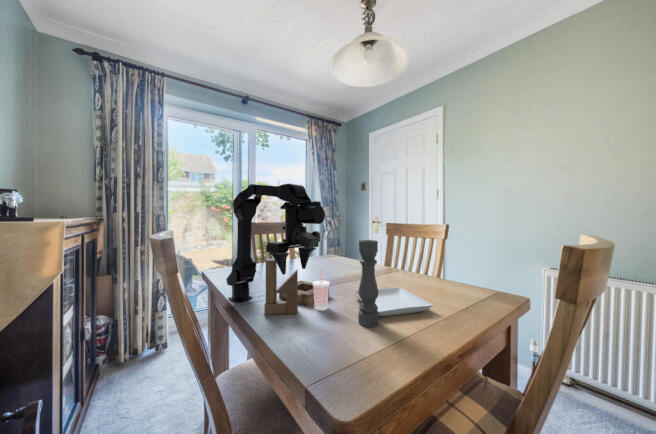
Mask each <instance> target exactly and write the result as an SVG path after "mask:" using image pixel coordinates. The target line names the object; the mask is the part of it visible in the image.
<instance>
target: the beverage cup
mask: <svg viewBox="0 0 656 434" xmlns="http://www.w3.org/2000/svg"><path fill="white" fill-rule="evenodd" d="M319 271H320V277H319V278H320V279H319V280H314V281H312V282H311V283H312V284H313V290H314V304H313V306H314V309H315V310H316V311H325V310H327V309H328V307H329V305H328V304H329V297H328V292H329V293H330V284H331V283H330V281H328V280H323V273H322V271H323V269H322V268H320V269H319Z"/></svg>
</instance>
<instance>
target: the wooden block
mask: <svg viewBox="0 0 656 434" xmlns="http://www.w3.org/2000/svg"><path fill="white" fill-rule="evenodd" d="M277 266H278V264H277V262H276V260H275V259H274V258H267V259H265V303H264V305H263V306H264V308H263V309H264V310H263V311H264V315H265V316H266V315H268V316H269V315H270V316H271V315H272V316H273V315H296V314H298V311H299V310H298V309H299V308H298V307H299V306H298V305H299V303H298V290H297V289H298V281H299V280H298V277H299V275H298V273H299V272H298V269H296V270H294V272H292V274H291V275H290V276H289V277H288V278H287V279H286V280H285V281H284V282H282V284H281V285H280V286H278V288H277V285H278V283H277V282H278V281H277V271H278V270H277V268H278V267H277ZM279 293H287V294H286V298H287V300H285V301H284V300H283V299H281V300H277V297H278V294H279Z"/></svg>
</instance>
